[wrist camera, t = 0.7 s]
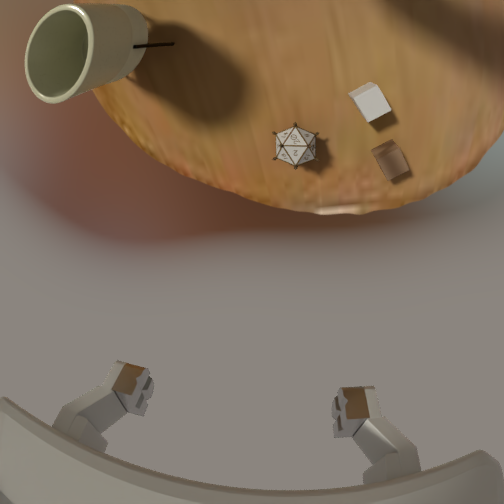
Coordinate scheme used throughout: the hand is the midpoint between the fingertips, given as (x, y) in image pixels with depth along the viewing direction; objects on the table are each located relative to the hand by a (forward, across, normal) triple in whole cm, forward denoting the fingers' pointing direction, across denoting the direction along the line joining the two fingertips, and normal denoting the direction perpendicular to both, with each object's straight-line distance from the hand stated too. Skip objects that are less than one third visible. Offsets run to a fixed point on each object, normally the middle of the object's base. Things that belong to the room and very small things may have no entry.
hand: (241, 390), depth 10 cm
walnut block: (+46, -23, -6) cm, 52 cm away
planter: (+43, +27, -29) cm, 58 cm away
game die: (+47, -4, -7) cm, 48 cm away
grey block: (+43, -16, -17) cm, 49 cm away
